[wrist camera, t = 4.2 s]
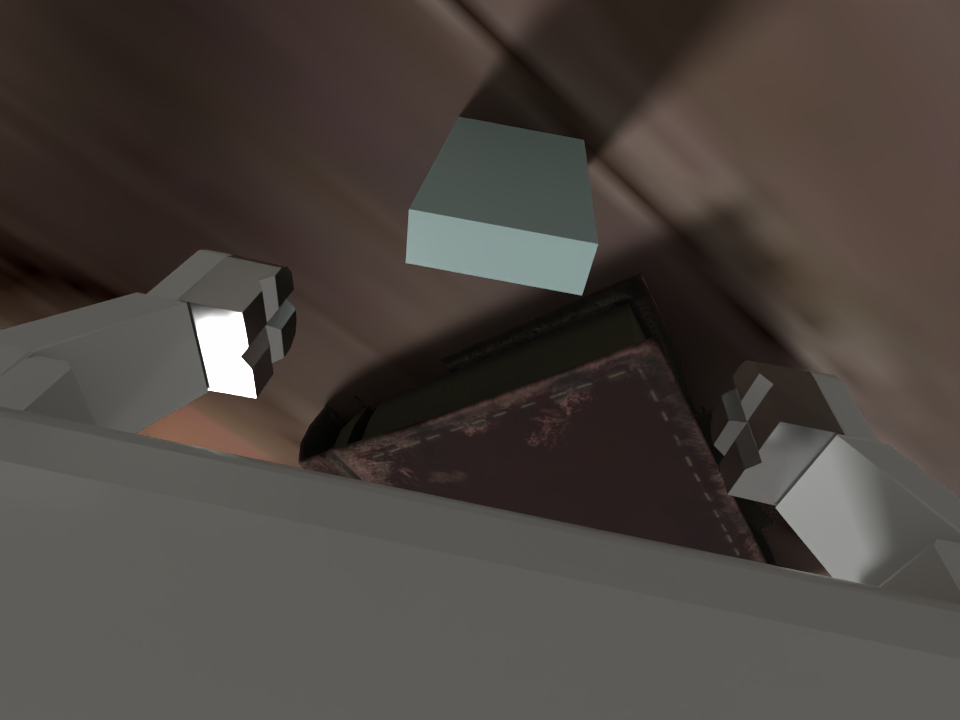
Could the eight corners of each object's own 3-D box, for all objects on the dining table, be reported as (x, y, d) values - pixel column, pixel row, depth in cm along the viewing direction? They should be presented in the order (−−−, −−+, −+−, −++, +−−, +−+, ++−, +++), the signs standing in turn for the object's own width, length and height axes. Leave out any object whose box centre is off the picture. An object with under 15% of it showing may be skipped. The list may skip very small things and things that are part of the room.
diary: (535, 617, 41) (531, 689, 37) (320, 400, 29) (282, 474, 25) (800, 576, 34) (830, 661, 30) (660, 259, 21) (680, 333, 18)
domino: (453, 156, 19) (405, 262, 13) (458, 116, 18) (409, 209, 12) (573, 179, 19) (582, 295, 13) (584, 139, 19) (598, 244, 12)
